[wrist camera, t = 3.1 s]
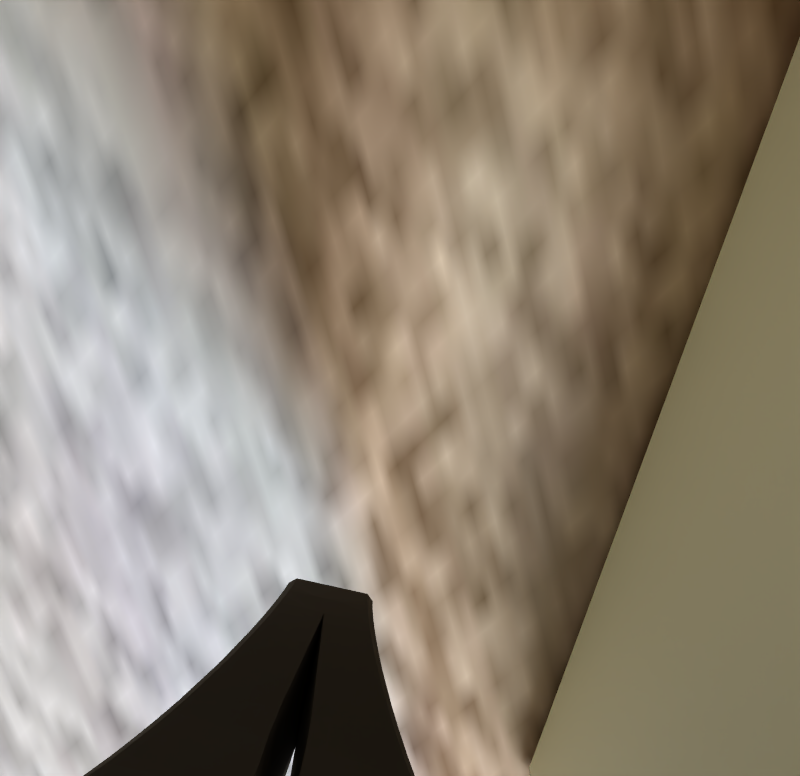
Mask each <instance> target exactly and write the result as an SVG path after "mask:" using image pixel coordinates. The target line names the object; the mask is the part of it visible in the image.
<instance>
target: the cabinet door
mask: <svg viewBox="0 0 800 776" xmlns="http://www.w3.org/2000/svg"><path fill="white" fill-rule="evenodd" d="M529 771H530V776H800V38H799V41H798V43H797V46H796V49H795V52H794V54H793V57H792V60H791V62H790V65H789V68H788V70H787V73H786V76H785V79H784V81H783V84H782V87H781V89H780V92H779V95H778V97H777V100H776V103H775V105H774V108H773V111H772V114H771V116H770V119H769V122H768V124H767V127H766V130H765V132H764V135H763V138H762V141H761V143H760V146H759V149H758V151H757V154H756V157H755V159H754V162H753V165H752V168H751V170H750V173H749V176H748V178H747V181H746V184H745V186H744V189H743V192H742V195H741V197H740V200H739V203H738V205H737V208H736V211H735V213H734V216H733V219H732V222H731V224H730V227H729V230H728V232H727V235H726V238H725V240H724V243H723V246H722V249H721V251H720V254H719V257H718V259H717V262H716V265H715V267H714V270H713V273H712V276H711V278H710V281H709V284H708V286H707V289H706V292H705V294H704V297H703V300H702V303H701V305H700V308H699V311H698V313H697V316H696V319H695V321H694V324H693V327H692V329H691V332H690V335H689V338H688V340H687V343H686V346H685V348H684V351H683V354H682V356H681V359H680V362H679V365H678V367H677V370H676V373H675V375H674V378H673V381H672V383H671V386H670V389H669V392H668V394H667V397H666V400H665V402H664V405H663V408H662V410H661V413H660V416H659V419H658V421H657V424H656V427H655V429H654V432H653V435H652V437H651V440H650V443H649V446H648V448H647V451H646V454H645V456H644V459H643V462H642V464H641V467H640V470H639V473H638V475H637V478H636V481H635V483H634V486H633V489H632V491H631V494H630V497H629V500H628V502H627V505H626V508H625V510H624V513H623V516H622V518H621V521H620V524H619V527H618V529H617V532H616V535H615V537H614V540H613V543H612V545H611V548H610V551H609V553H608V556H607V559H606V562H605V564H604V567H603V570H602V572H601V575H600V578H599V580H598V583H597V586H596V589H595V591H594V594H593V597H592V599H591V602H590V605H589V607H588V610H587V613H586V616H585V618H584V621H583V624H582V626H581V629H580V632H579V634H578V637H577V640H576V643H575V645H574V648H573V651H572V653H571V656H570V659H569V661H568V664H567V667H566V670H565V672H564V675H563V678H562V680H561V683H560V686H559V688H558V691H557V694H556V697H555V699H554V702H553V705H552V707H551V710H550V713H549V715H548V718H547V721H546V724H545V726H544V729H543V732H542V734H541V737H540V740H539V742H538V745H537V748H536V751H535V753H534V756H533V759H532V761H531V764H530V767H529Z"/></svg>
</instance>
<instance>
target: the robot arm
mask: <svg viewBox="0 0 800 776" xmlns="http://www.w3.org/2000/svg"><path fill="white" fill-rule="evenodd" d="M372 602H373V601H372V600H371V598H370V597H369V595H368V594H365V593H360V592H356V591H351V590H347V589H342V588H338V587H333V586H329V585H324V584H320V583H315V582H311V581H306V580H302V579H295V580H293V581H291V582H290V583H289V584H288V585H287V587H286V588H285V590H284V591H283V592H282V594H281V595H280V596H279V598H278V599H277V600H276V602H275V603H274V604H273V605H272V606H271V608H270V609H269V610H268V611H267V612H266V614H265V615H264V616H263V617H262V618H261V619H260V620H259V622H258V623H257V624H256V625H255V626H254V627H253V628H252V630H251V631H250V632H249V633H248V634H247V635H246V636H245V637H244V638H243V639H242V640H241V641H240V642H239V643H238V644H237V645H236V646H235V647H234V648H233V649H232V650H231V651H230V652H229V653H228V655H227V656H226V657H225V658H224V659H223V660H222V661H221V662H220V663H219V664H218V665H217V666H215V667H214V668H213V669H212V670H211V671H210V672H209V673H208V674H207V675H206V676H205V677H204V678H203V679H201V680H200V681H199V682H198V683H197V684H196V685H195V686H194V687H193V688H192V689H191V690H190V691H188V692H187V693H186V694H185V695H184V696H183V697H182V698H181V699H180V700H179V701H178V702H176V703H175V704H174V705H173V706H172V707H171V708H169V709H168V710H167V711H166V712H165V713H164V714H162V715H161V716H160V717H159V718H158V719H157V720H155V721H154V722H153V723H152V724H150V725H149V726H148V727H147V728H146V729H144V730H143V731H142V732H141V733H139V734H138V735H137V736H136V737H134V738H133V739H132V740H130V741H129V742H128V743H127V744H125V745H124V746H123V747H122V748H120V749H119V750H118V751H116V752H115V753H114V754H113V755H111V756H110V757H109V758H107V759H106V760H104V761H103V762H102V763H100V764H99V765H98V766H96V767H95V768H93V769H92V770H91V771H89V772H88V773H87V774H85V775H84V776H285V775H286V772H287V769H288V767H289V764H290V761H291V758H292V755H293V752H294V749H295V753H294V759H293V765H292V771H291V776H415V775H414V773H413V770H412V767H411V764H410V762H409V759H408V756H407V753H406V750H405V747H404V744H403V741H402V738H401V735H400V732H399V729H398V726H397V722H396V719H395V716H394V712H393V709H392V706H391V702H390V698H389V694H388V690H387V686H386V683H385V679H384V675H383V671H382V667H381V662H380V658H379V653H378V647H377V642H376V636H375V630H374V622H373V610H372Z"/></svg>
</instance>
